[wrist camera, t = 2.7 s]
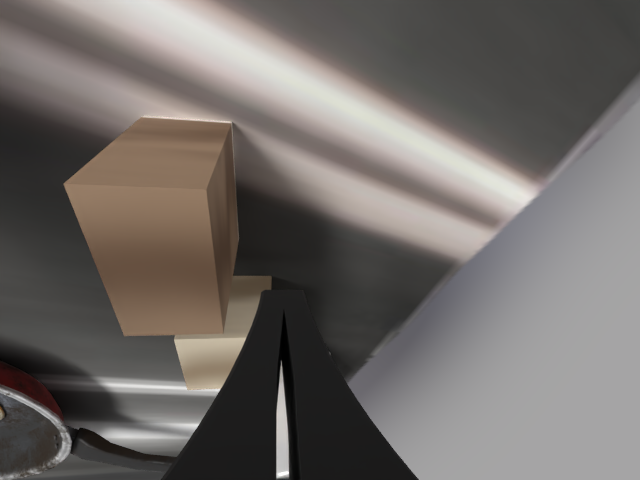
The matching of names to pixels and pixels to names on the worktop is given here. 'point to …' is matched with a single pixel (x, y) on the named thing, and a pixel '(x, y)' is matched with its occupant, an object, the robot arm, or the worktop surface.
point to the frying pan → (51, 433)
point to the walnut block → (163, 224)
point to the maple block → (221, 337)
